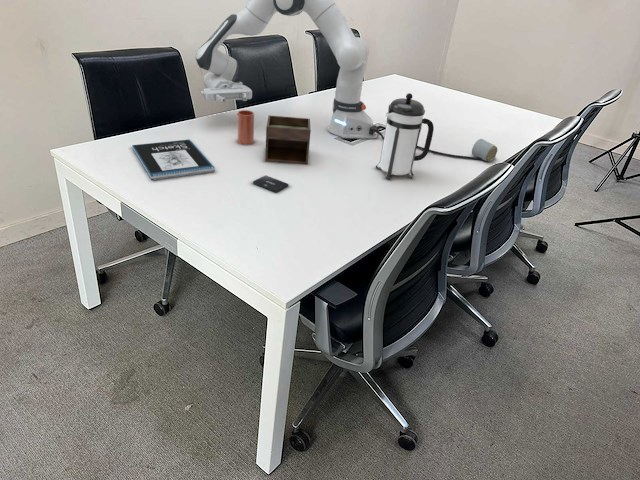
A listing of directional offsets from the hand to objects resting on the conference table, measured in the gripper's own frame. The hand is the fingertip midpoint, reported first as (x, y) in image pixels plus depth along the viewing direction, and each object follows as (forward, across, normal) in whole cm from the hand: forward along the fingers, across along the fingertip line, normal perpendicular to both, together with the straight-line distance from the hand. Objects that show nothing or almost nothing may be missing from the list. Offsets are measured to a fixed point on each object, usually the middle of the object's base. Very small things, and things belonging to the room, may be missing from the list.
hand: (234, 99), depth 189 cm
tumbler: (+12, 0, +14) cm, 18 cm away
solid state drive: (+51, -7, +14) cm, 54 cm away
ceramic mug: (+57, +90, +14) cm, 108 cm away
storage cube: (+31, +10, +14) cm, 35 cm away
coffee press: (+57, +43, +14) cm, 73 cm away
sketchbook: (+21, -32, +14) cm, 41 cm away
